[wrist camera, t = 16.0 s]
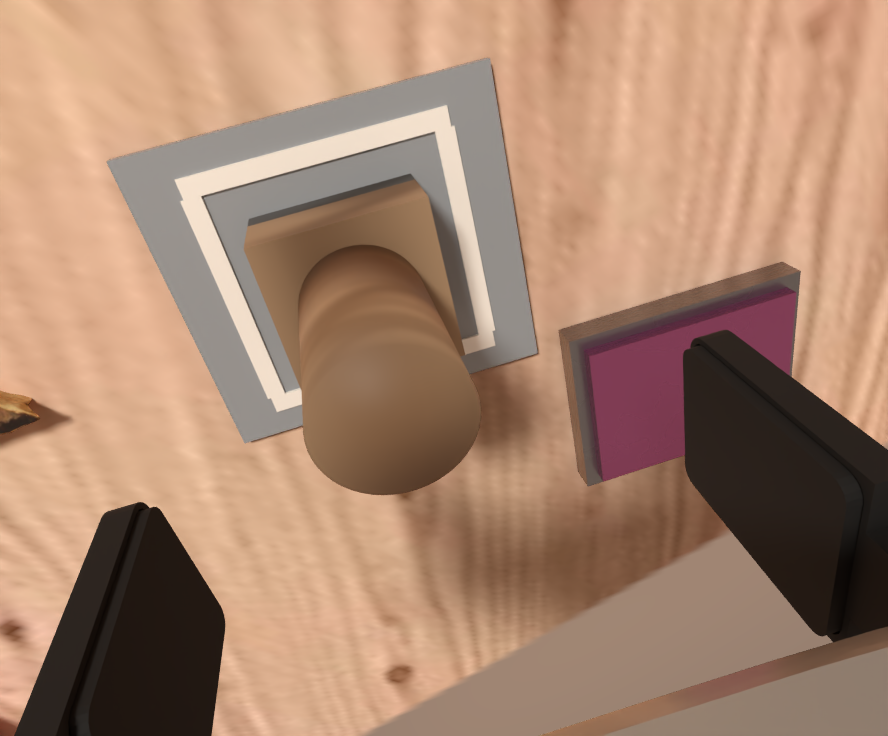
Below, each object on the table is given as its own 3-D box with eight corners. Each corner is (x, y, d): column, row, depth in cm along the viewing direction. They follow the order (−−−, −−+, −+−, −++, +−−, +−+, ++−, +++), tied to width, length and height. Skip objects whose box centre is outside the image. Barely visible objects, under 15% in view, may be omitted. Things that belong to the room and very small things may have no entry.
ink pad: (782, 261, 24) (810, 275, 23) (772, 408, 28) (795, 428, 26) (558, 330, 23) (574, 348, 22) (578, 471, 27) (592, 494, 26)
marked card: (486, 57, 18) (490, 58, 18) (534, 349, 23) (538, 354, 23) (108, 159, 17) (105, 162, 17) (245, 438, 23) (244, 444, 22)
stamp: (410, 173, 19) (490, 277, 12) (445, 317, 22) (529, 478, 14) (248, 218, 19) (223, 356, 11) (304, 359, 21) (314, 548, 14)
